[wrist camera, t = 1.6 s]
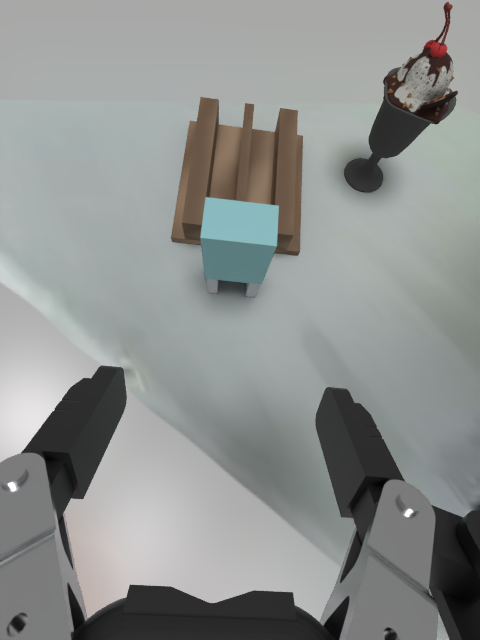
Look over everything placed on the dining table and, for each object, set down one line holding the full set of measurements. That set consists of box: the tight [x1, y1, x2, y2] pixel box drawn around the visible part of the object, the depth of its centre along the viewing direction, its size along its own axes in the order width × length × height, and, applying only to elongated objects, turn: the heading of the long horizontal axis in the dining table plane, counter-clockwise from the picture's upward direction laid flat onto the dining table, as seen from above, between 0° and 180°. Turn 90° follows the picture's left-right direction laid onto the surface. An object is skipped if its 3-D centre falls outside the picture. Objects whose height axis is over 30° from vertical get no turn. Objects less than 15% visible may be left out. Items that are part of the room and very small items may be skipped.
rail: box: [171, 97, 303, 255], centre depth 31 cm, size 14×16×4 cm
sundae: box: [345, 2, 458, 192], centre depth 27 cm, size 7×7×15 cm
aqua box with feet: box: [200, 197, 279, 297], centre depth 24 cm, size 5×3×11 cm, turn 85°
